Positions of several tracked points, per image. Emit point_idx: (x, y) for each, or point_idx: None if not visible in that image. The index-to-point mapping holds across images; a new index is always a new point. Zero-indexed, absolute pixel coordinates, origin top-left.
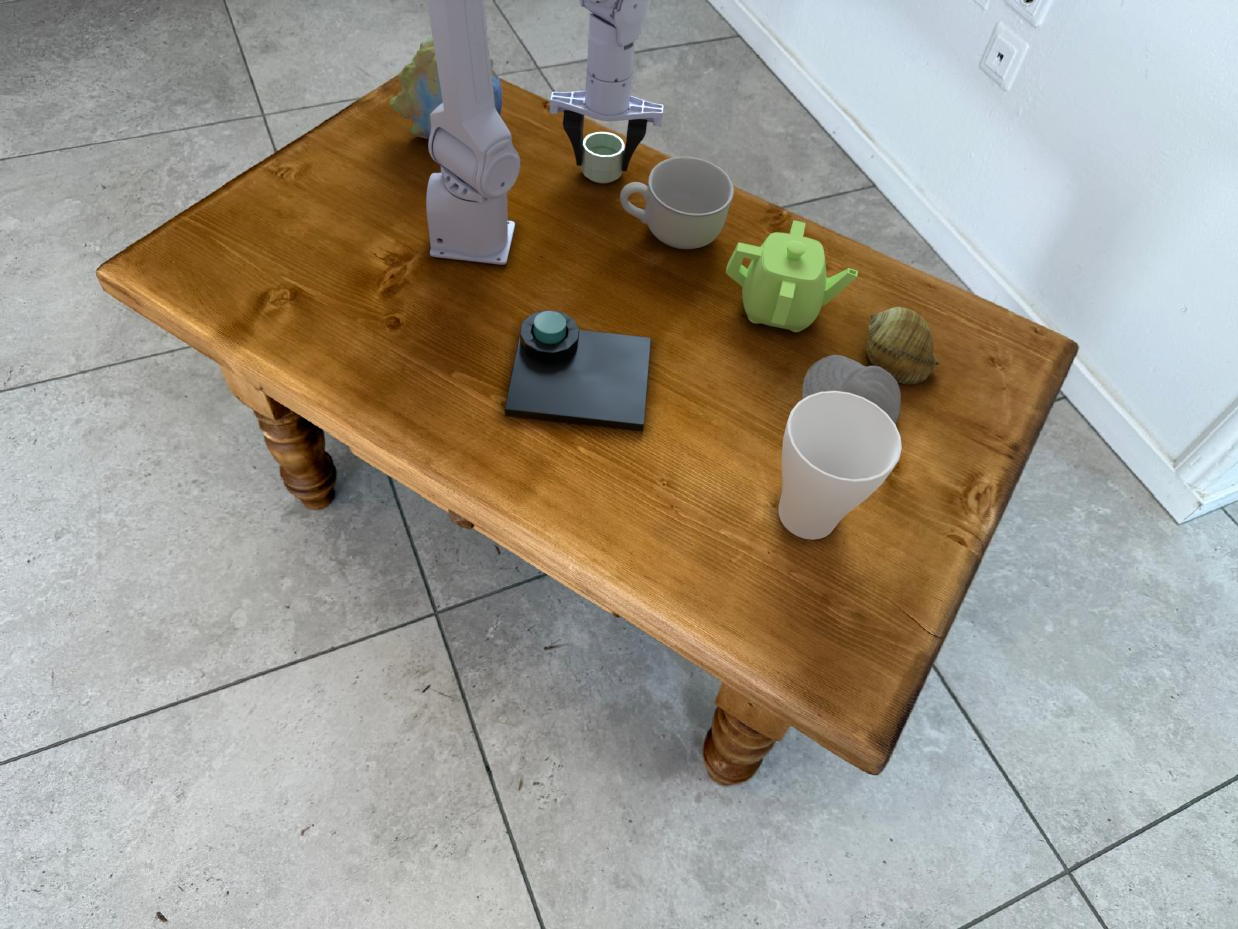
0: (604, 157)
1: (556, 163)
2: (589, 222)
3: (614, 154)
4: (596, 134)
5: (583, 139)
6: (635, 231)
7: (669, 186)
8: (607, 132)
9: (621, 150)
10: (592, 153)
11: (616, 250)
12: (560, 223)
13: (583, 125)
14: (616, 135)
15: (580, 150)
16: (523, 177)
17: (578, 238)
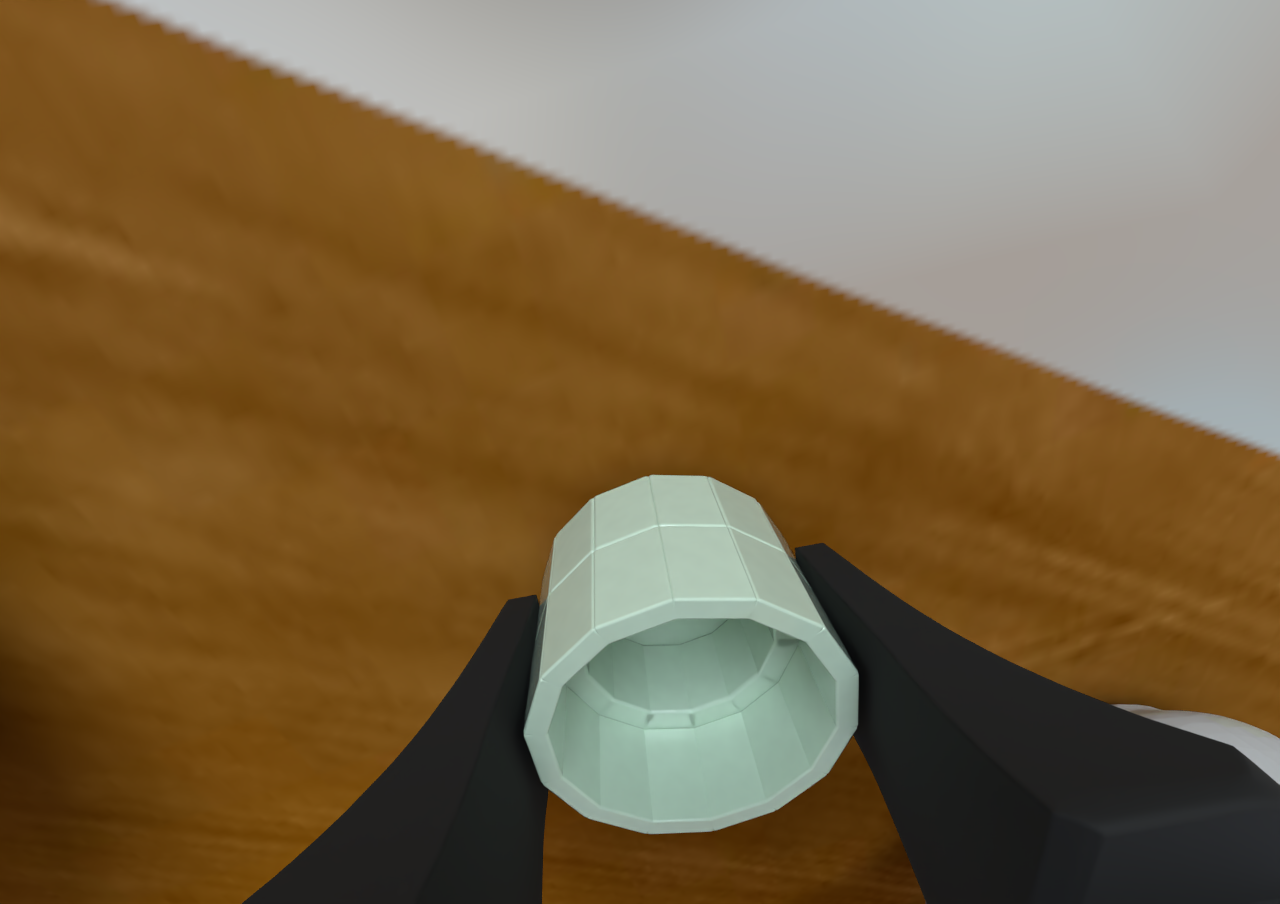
0: (730, 822)
1: (391, 581)
2: (692, 834)
3: (795, 790)
4: (603, 646)
5: (525, 736)
6: (875, 814)
7: None
8: (692, 604)
9: (839, 740)
10: (642, 826)
11: (814, 893)
12: (585, 869)
13: (478, 762)
14: (777, 609)
15: (545, 799)
16: (294, 726)
17: (673, 896)
